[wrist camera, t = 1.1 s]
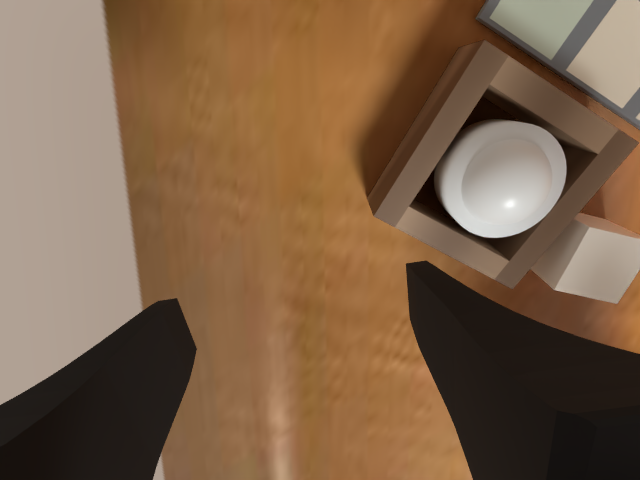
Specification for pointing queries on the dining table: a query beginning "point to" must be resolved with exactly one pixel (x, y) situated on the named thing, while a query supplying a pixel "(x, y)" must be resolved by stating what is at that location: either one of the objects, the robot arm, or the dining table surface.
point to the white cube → (591, 259)
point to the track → (579, 44)
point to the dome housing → (529, 107)
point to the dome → (500, 177)
